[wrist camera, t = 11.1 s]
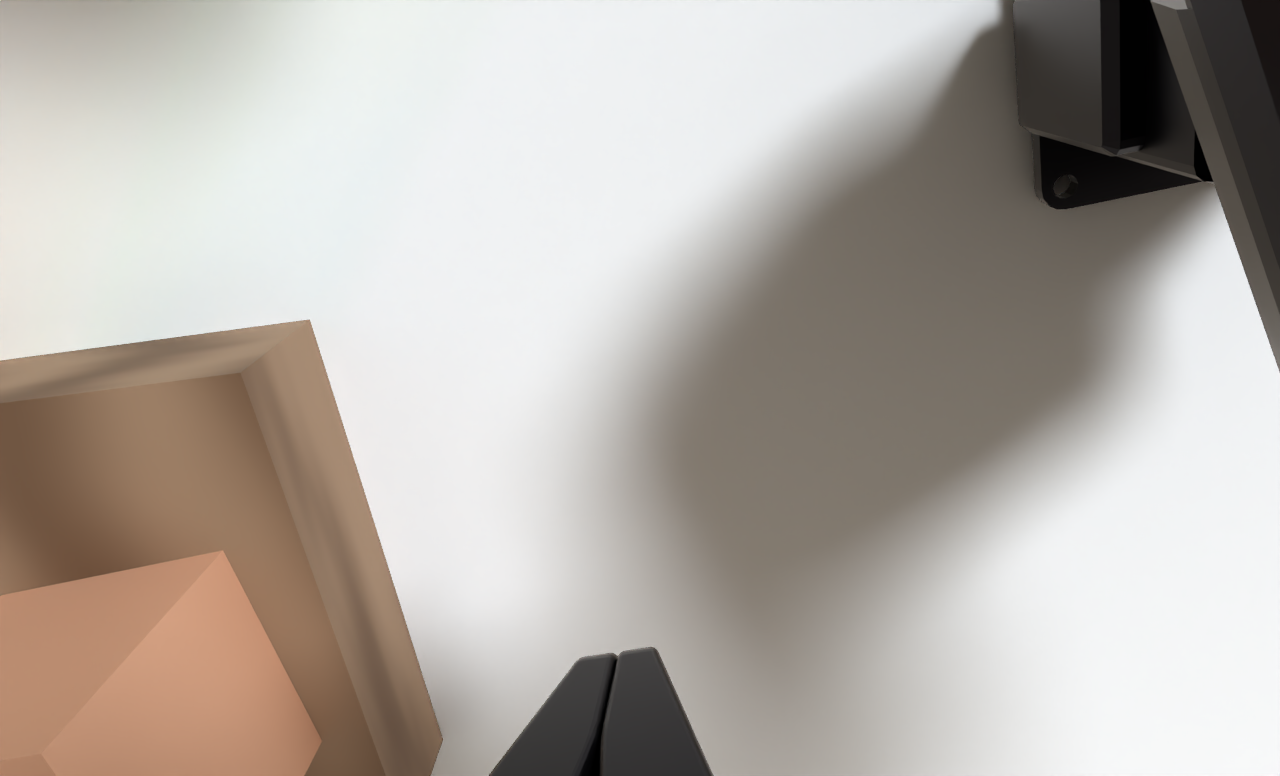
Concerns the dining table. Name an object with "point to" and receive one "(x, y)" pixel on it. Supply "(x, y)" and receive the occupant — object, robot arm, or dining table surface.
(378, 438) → the dining table surface
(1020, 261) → the dining table surface
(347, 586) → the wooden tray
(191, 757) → the terracotta cube
